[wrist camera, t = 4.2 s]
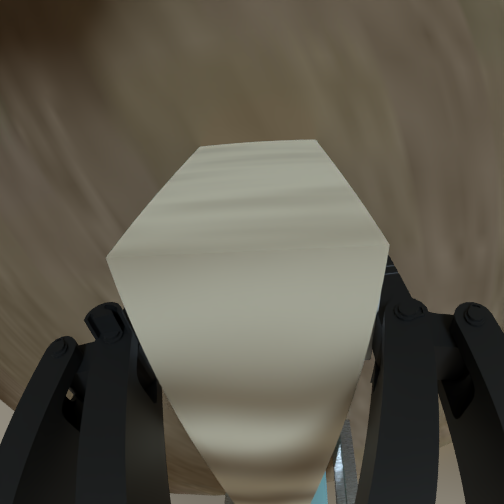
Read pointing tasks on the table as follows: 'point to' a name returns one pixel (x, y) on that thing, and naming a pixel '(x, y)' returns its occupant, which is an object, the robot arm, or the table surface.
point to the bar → (256, 308)
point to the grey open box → (340, 469)
